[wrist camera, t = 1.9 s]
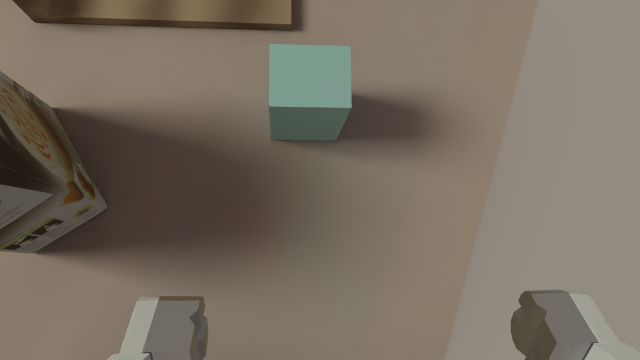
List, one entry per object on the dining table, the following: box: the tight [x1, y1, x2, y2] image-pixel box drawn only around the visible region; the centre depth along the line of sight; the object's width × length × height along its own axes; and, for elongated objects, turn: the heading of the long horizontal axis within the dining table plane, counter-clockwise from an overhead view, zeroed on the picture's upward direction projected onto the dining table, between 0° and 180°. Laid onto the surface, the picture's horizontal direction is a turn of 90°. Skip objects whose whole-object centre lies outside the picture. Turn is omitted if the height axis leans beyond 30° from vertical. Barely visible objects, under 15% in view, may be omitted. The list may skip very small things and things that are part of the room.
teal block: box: [269, 44, 352, 141], centre depth 33 cm, size 5×4×8 cm
